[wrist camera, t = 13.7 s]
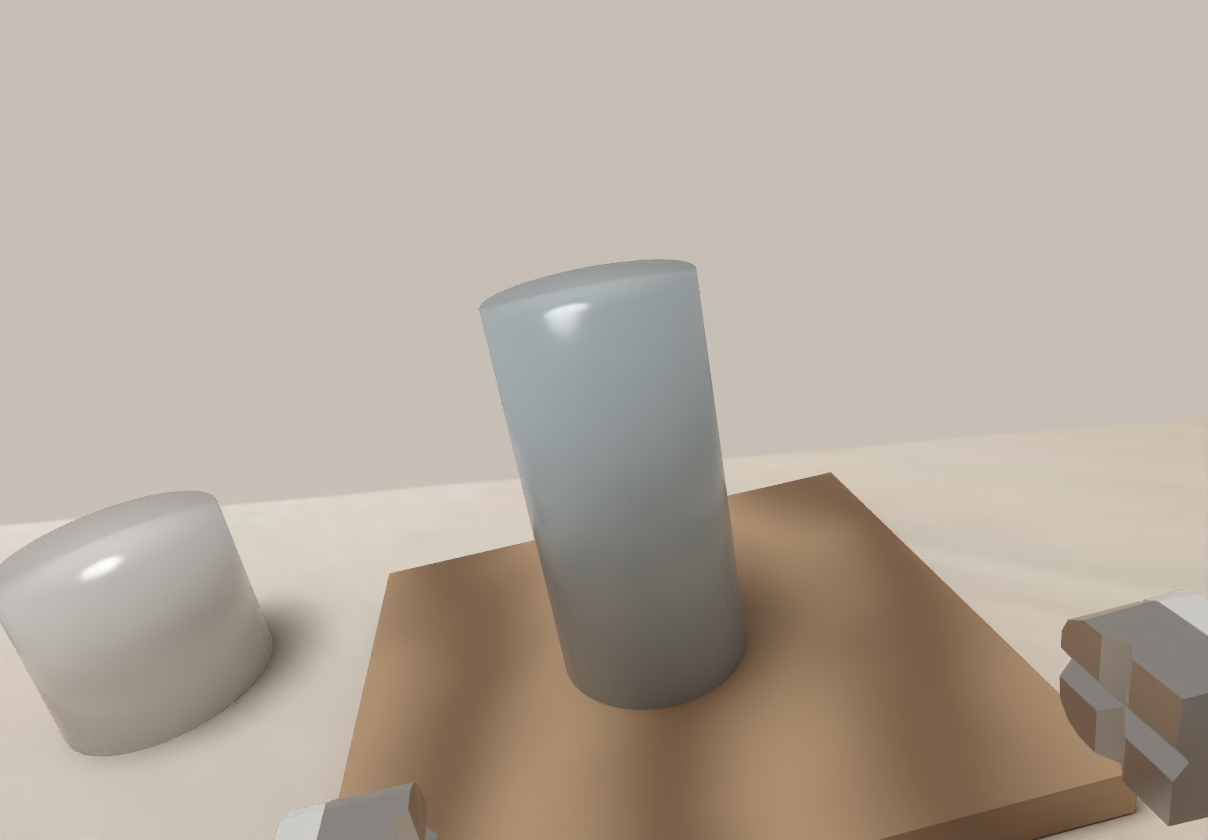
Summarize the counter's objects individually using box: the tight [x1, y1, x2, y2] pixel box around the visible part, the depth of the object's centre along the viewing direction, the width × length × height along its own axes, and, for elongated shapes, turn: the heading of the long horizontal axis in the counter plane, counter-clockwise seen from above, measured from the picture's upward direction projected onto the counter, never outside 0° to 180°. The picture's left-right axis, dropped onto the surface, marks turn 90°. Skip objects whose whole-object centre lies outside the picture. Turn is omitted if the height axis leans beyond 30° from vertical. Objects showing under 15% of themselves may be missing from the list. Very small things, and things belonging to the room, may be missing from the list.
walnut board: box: [339, 472, 1137, 840], centre depth 24 cm, size 18×16×1 cm
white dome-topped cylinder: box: [0, 491, 274, 756], centre depth 27 cm, size 7×7×6 cm
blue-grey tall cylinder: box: [479, 260, 747, 710], centre depth 21 cm, size 6×6×11 cm
